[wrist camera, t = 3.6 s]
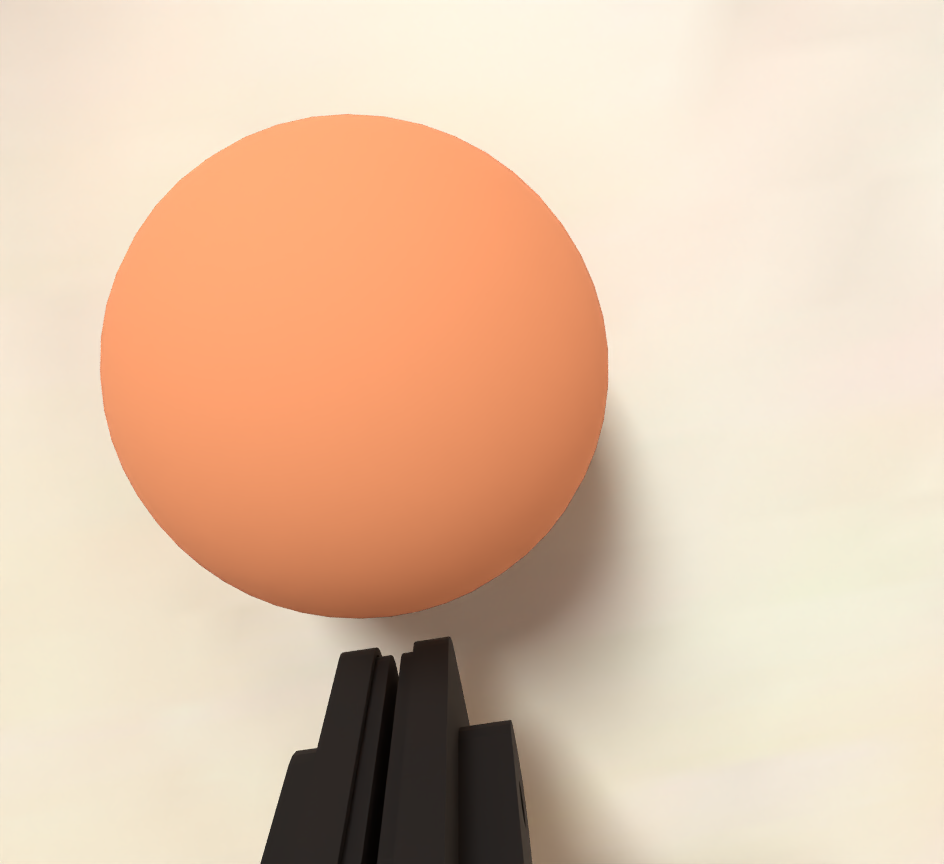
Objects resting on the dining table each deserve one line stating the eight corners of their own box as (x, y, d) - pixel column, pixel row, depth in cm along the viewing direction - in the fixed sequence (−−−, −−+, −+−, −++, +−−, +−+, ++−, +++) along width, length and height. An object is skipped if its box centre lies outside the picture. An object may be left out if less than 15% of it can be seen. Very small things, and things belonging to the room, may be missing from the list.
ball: (552, 106, 10) (647, 16, 5) (586, 471, 12) (682, 701, 6) (166, 164, 10) (-156, 141, 5) (256, 514, 12) (91, 770, 7)
